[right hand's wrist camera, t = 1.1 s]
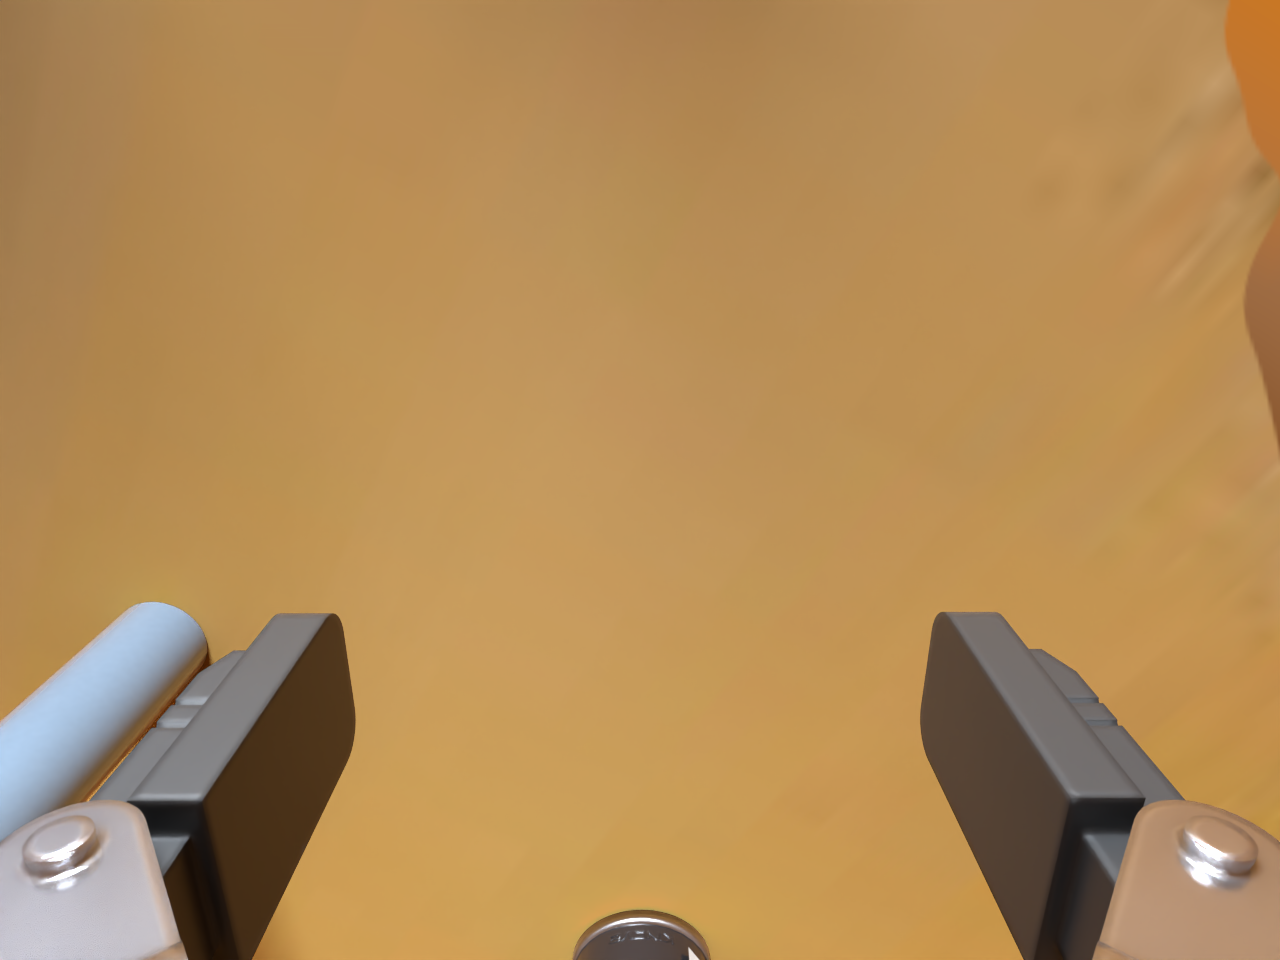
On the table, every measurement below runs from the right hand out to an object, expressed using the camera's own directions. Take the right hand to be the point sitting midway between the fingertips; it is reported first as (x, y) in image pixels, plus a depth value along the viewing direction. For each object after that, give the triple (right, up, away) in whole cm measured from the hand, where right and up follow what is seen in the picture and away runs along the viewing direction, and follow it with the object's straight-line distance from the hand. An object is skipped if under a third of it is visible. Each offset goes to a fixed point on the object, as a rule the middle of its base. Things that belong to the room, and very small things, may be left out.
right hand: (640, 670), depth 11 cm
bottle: (-28, -7, +38) cm, 47 cm away
